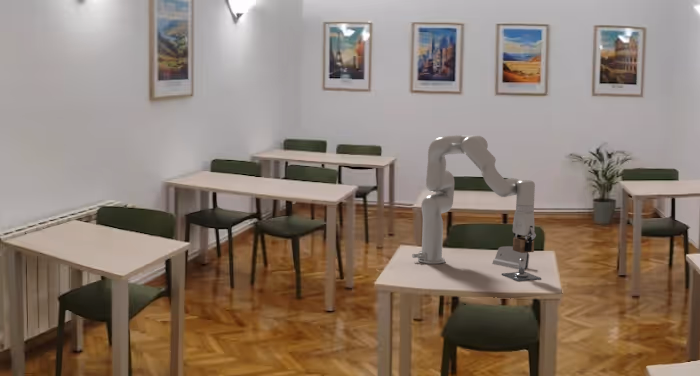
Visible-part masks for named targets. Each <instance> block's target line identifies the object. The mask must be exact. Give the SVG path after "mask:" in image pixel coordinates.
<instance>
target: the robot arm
mask: <svg viewBox="0 0 700 376" xmlns="http://www.w3.org/2000/svg"><path fill="white" fill-rule="evenodd" d="M456 154H457V155H458V154H465V155H466V157H467V158H468V159H470V161H471V162H472V163H474V165H475V166H476V168H478V169H479V171H481V175H482V178H483V180H484V182H485V183H486V185H487V186H488V187H489V188H490V189H491V190H492V191H493V193H495V194H496V195H497V196H499V197H501V198H507V197H510V196H516V199H515V200H516V201H515V202H516V203H515V204H516V205H515V211H514V214H513V215H514V216H513V223H512V230H511V231H512V233H513V235H514V236H513V237H514V238H518V237H525V239H526V242H525V251H526V252H527V251H532V242H533V240H534V241H535V238H536V236H537V234H536V232H535V213H534V212H535V211H534V209H535V193H536V192H535V191H536V189H535V188H536V184H535V182H534V181H532V180H527V179H523V180H522V179H517V178H513V177H510V178H504V177H503V176H502V175H501V174H500V173H499V171H498V170H497V168H496V165H495V164H496V160H497V159H496V157H495V156H494V155H493V154H492V153H491V151H489V150H488V142H487V140H486V138H485V137H483V136H481V135H462V134H460V135H459V134H458V135H457V134H456V135H446V136H445V135H444V136H441V137H437V138H435V139H434V140H433V141H432V142H431V143H430V144H429V147H428V151H427V167H426V179H425V186H426V188H427V190H429V191H430V192H432V194H430V195H427V196H426V197H424V198H423V200H422V201H421V215H422V216H421V217H422V234H421V236H422V237H421V250H420V251H419V252H418V253H412V255H411V257H412V258H413V259H416V258H417V261H418V262H420V263H423V264H427V265H428V264H430V265H431V264H432V265H440V264H443V263H446V258H444V257H443V235H444V221H443V217H442V214H444V213H447V212H449V211H450V210H451V209H452V208H453V206H454V205H453V204H454V195H455V193H454V192H455V177H454V175H453V173H451V172H450V171H449V170H446V168H447V159H446V156H448V155H456ZM433 193H434V194H433ZM528 238H529V239H528Z"/></svg>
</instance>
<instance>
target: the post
mask: <svg viewBox="0 0 700 376" xmlns="http://www.w3.org/2000/svg"><path fill="white" fill-rule="evenodd" d="M525 269H526V268H525V259H523V258H520V259H519V269H518V271H514V272H503V273H501V275H502V276H504V277H506V278H507V279H511V280H513V281H516V282H522V281H524V282H525V281H536V280H541V279H542V277H541V276H537V275H534V274H532V273H529V272H527V271H525Z"/></svg>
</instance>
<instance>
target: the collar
mask: <svg viewBox="0 0 700 376" xmlns="http://www.w3.org/2000/svg"><path fill="white" fill-rule="evenodd" d="M528 239H529V237H528ZM525 242H526V239H525V236H522V237H518V238H515V237H513V238H512V247H513V250H514V251H517V252H520V253H534V252H535V239H534V240H533V242H532V251H527V252H526V251H525Z"/></svg>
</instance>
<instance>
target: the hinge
mask: <svg viewBox="0 0 700 376" xmlns="http://www.w3.org/2000/svg"><path fill="white" fill-rule="evenodd" d="M520 258H523V259H525V269H527V270H528V269H529V261H530V252H528V253H520V252H517V251H514V250H513V245H512V246H510V245H508V246H507V245H506V246H500V247H498V248H497V251H496V254H495V258H494V259H493V260H492V265H496V266H501V267H506V268H512V269H515V270H519V259H520Z"/></svg>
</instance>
